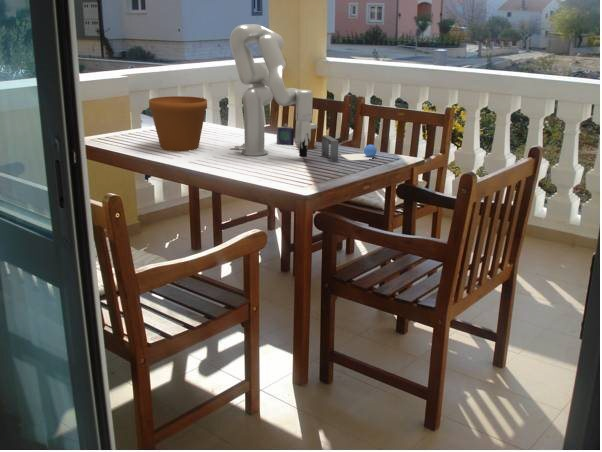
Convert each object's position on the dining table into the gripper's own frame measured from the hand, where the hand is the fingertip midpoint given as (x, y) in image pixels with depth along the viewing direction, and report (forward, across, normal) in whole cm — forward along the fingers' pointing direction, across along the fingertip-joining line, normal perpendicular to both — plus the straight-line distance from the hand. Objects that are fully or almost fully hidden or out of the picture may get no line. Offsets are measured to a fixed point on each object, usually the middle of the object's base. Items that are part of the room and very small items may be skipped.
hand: (303, 156), depth 323 cm
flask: (+2, -38, +2) cm, 38 cm away
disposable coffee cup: (+2, -28, +11) cm, 30 cm away
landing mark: (+2, 0, +27) cm, 27 cm away
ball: (-2, +1, +33) cm, 33 cm away
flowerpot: (+2, -40, -52) cm, 66 cm away
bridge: (+2, 0, +13) cm, 13 cm away
